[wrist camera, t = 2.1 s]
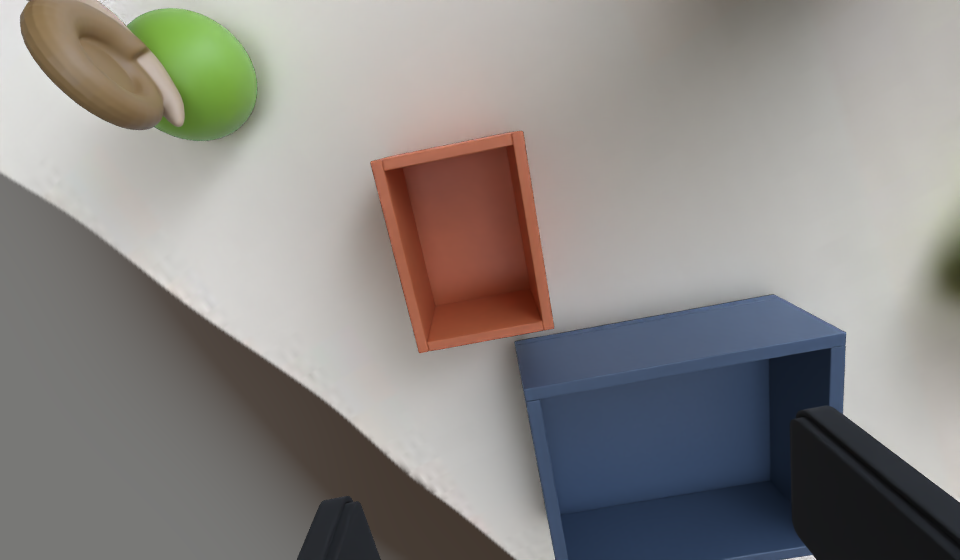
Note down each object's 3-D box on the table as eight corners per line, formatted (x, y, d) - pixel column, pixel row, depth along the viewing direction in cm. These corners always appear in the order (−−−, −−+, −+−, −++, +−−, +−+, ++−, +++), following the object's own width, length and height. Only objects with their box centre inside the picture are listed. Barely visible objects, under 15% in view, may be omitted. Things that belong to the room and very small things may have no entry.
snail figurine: (212, -20, 22) (-64, -183, 11) (297, 101, 24) (135, 71, 13) (128, 47, 23) (-210, -39, 12) (217, 160, 25) (-5, 182, 13)
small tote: (391, 156, 25) (369, 161, 20) (512, 131, 25) (523, 130, 19) (429, 311, 27) (418, 353, 22) (539, 291, 27) (554, 329, 22)
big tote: (514, 341, 28) (523, 389, 23) (773, 293, 27) (846, 332, 22) (547, 517, 32) (562, 594, 27) (775, 480, 31) (837, 551, 26)
